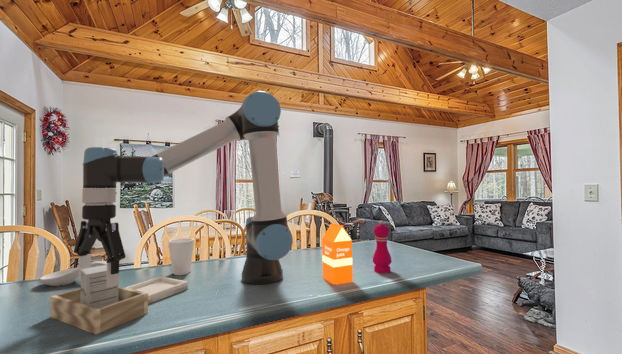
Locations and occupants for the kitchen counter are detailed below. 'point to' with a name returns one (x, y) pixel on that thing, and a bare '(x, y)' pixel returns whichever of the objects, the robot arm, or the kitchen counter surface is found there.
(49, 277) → the spoon rest
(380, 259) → the pepper mill
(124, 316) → the crate
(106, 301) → the supplement box
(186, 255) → the foam cup
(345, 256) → the orange juice
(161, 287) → the tray
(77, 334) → the kitchen counter surface
